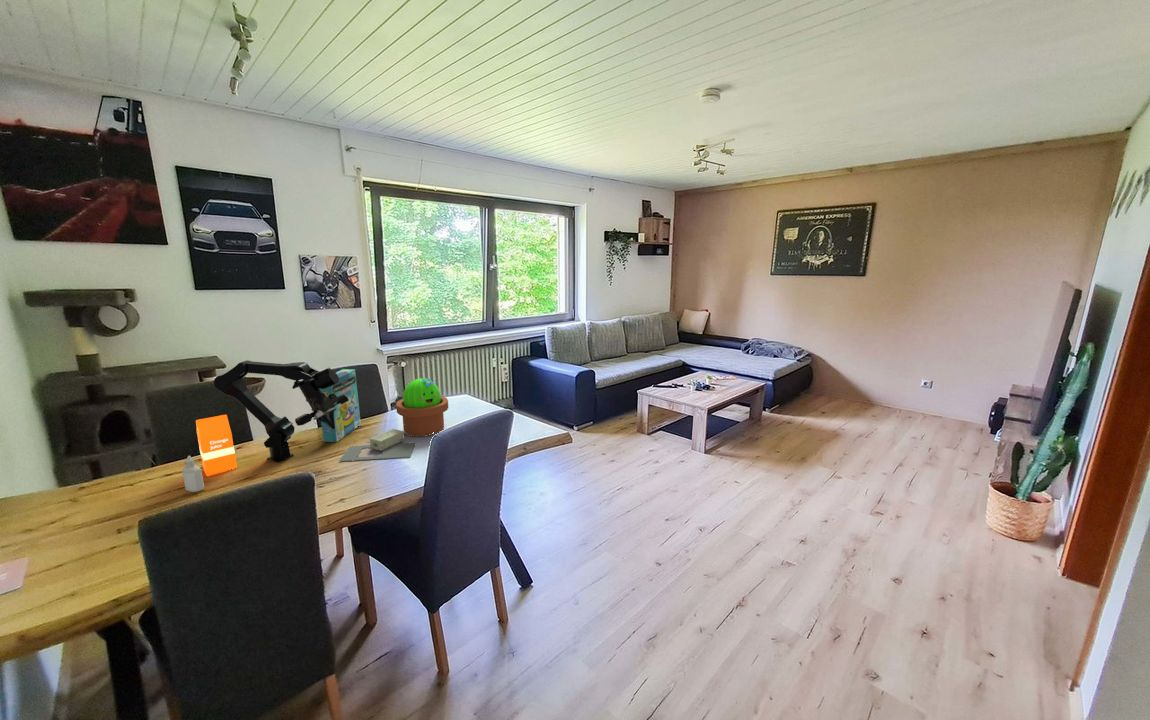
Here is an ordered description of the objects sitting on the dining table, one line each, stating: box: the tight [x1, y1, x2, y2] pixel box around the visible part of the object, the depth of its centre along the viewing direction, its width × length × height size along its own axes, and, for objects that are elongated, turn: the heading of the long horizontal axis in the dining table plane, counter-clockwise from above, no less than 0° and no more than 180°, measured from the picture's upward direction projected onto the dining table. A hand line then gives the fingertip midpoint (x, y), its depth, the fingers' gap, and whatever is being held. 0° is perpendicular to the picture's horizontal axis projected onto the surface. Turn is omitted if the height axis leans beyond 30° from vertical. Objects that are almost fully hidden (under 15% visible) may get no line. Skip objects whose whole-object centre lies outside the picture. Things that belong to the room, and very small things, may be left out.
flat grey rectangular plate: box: [338, 442, 417, 462], centre depth 175 cm, size 26×14×1 cm, turn 101°
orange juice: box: [195, 414, 238, 477], centre depth 157 cm, size 8×9×20 cm
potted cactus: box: [395, 377, 449, 437], centre depth 196 cm, size 22×22×25 cm
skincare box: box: [369, 428, 405, 452], centre depth 181 cm, size 6×4×12 cm
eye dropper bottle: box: [181, 455, 205, 493], centre depth 143 cm, size 4×6×12 cm
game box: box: [320, 368, 362, 443], centre depth 190 cm, size 20×6×27 cm, turn 179°
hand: (333, 428), depth 168 cm, fingers closed
